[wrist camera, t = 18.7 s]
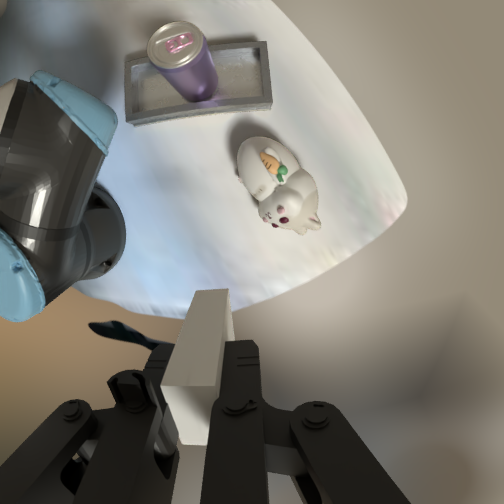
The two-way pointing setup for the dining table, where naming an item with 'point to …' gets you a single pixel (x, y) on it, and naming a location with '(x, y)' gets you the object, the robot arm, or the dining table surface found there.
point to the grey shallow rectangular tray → (220, 102)
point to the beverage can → (183, 59)
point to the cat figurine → (278, 185)
